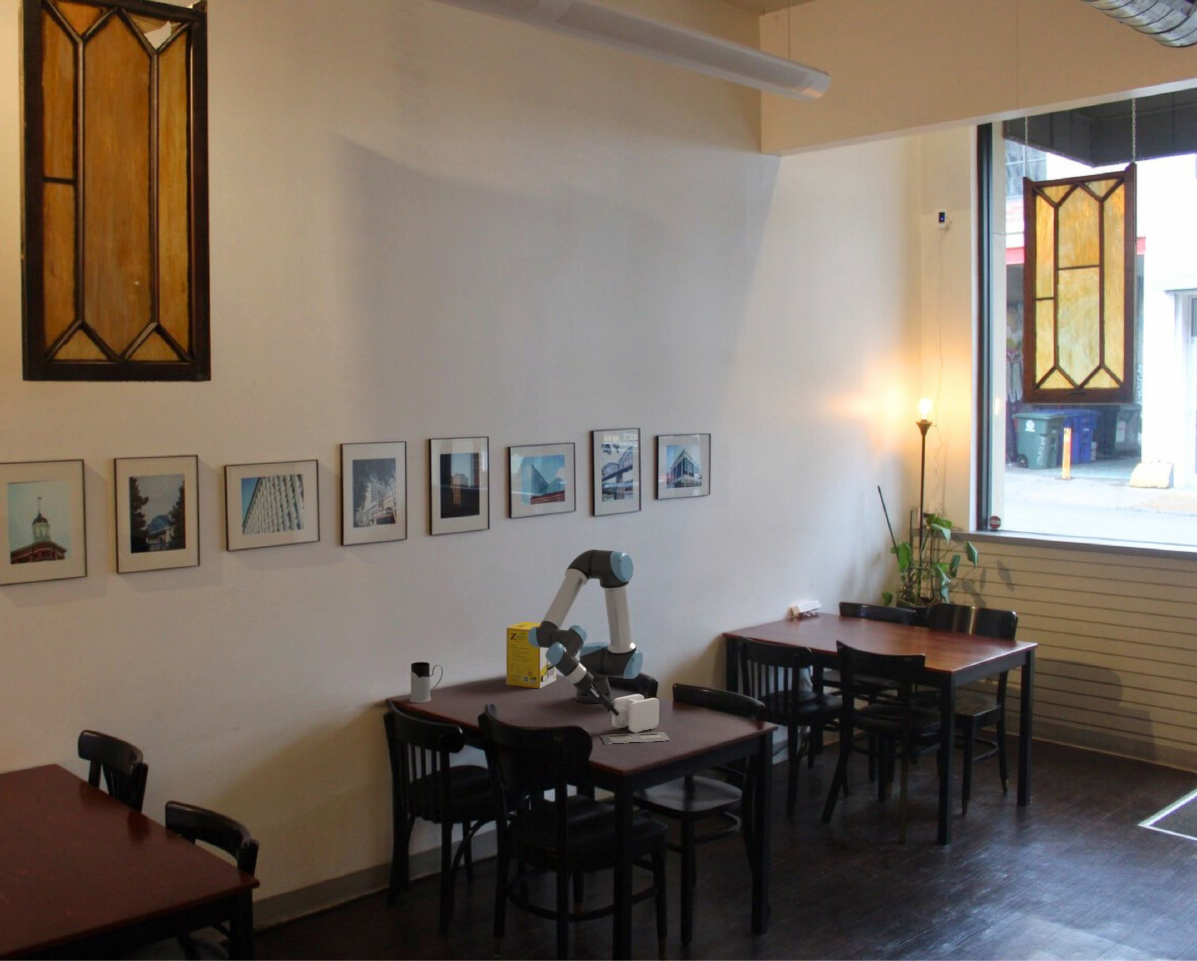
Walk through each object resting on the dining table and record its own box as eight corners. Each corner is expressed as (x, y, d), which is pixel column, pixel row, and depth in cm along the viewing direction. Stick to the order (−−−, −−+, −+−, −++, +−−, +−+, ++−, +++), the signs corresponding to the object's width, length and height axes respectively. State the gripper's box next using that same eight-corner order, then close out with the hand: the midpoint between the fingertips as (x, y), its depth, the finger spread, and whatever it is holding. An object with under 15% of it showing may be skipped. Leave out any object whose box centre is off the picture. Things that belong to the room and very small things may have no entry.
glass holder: (406, 699, 469) (406, 663, 468) (438, 694, 476) (438, 659, 475) (414, 703, 461) (414, 667, 460) (447, 699, 468) (446, 663, 467)
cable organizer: (629, 735, 417) (630, 704, 417) (610, 728, 425) (611, 698, 425) (658, 728, 427) (659, 697, 427) (639, 722, 435) (640, 692, 435)
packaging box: (523, 676, 508) (523, 621, 506) (556, 680, 502) (556, 624, 500) (506, 684, 493) (506, 627, 491) (539, 688, 487) (540, 630, 485)
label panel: (600, 736, 416) (600, 733, 416) (663, 733, 421) (663, 730, 421) (605, 744, 407) (605, 741, 407) (670, 741, 411) (670, 738, 411)
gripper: (570, 680, 427) (613, 722, 430) (575, 688, 414) (619, 732, 418) (584, 665, 427) (627, 708, 431) (589, 673, 414) (634, 717, 418)
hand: (623, 719), depth 424 cm, fingers closed
